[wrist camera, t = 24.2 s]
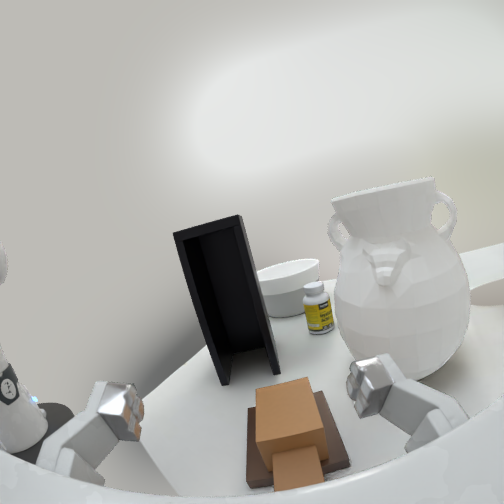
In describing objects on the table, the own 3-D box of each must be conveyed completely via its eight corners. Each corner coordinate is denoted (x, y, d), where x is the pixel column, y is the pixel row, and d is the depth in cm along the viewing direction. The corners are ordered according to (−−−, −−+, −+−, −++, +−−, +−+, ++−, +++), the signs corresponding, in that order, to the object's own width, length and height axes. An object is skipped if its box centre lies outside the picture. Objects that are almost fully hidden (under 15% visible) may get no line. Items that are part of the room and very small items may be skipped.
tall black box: (221, 386, 42) (172, 232, 40) (228, 352, 55) (191, 230, 52) (280, 373, 42) (238, 214, 39) (274, 341, 55) (241, 216, 52)
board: (249, 488, 20) (245, 481, 19) (250, 415, 33) (247, 408, 32) (349, 466, 19) (349, 458, 19) (323, 398, 32) (322, 390, 32)
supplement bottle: (325, 336, 51) (316, 289, 50) (304, 333, 55) (293, 289, 54) (339, 324, 54) (331, 279, 53) (318, 322, 58) (309, 280, 57)
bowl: (317, 318, 61) (307, 273, 59) (245, 323, 70) (234, 284, 69) (333, 290, 77) (326, 254, 76) (274, 297, 87) (266, 265, 85)
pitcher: (323, 399, 32) (280, 209, 30) (370, 334, 45) (344, 195, 43) (461, 410, 19) (457, 167, 17) (468, 331, 33) (453, 171, 30)
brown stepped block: (271, 553, 10) (255, 534, 10) (265, 419, 29) (255, 388, 29) (351, 537, 10) (351, 516, 10) (314, 407, 29) (307, 376, 29)
